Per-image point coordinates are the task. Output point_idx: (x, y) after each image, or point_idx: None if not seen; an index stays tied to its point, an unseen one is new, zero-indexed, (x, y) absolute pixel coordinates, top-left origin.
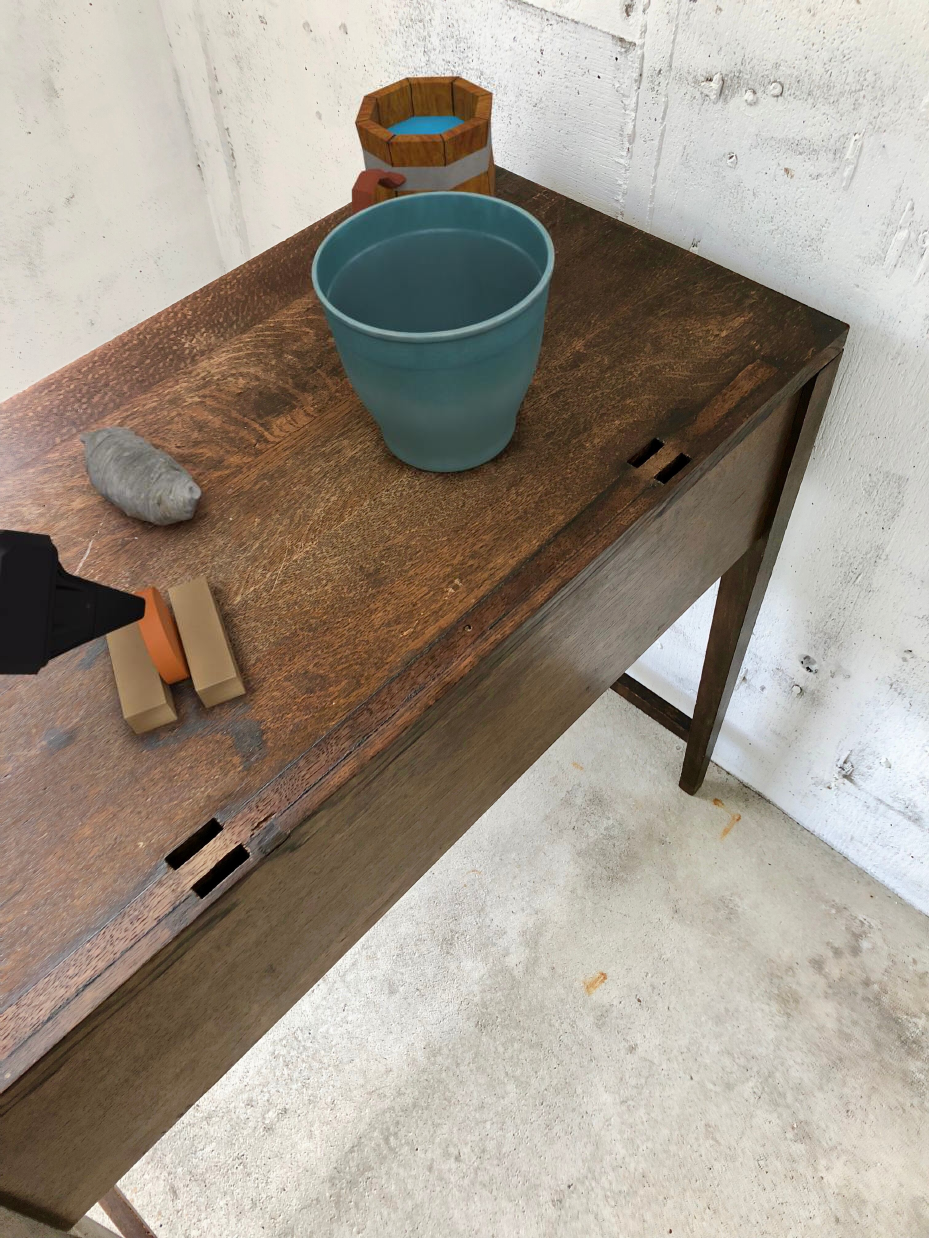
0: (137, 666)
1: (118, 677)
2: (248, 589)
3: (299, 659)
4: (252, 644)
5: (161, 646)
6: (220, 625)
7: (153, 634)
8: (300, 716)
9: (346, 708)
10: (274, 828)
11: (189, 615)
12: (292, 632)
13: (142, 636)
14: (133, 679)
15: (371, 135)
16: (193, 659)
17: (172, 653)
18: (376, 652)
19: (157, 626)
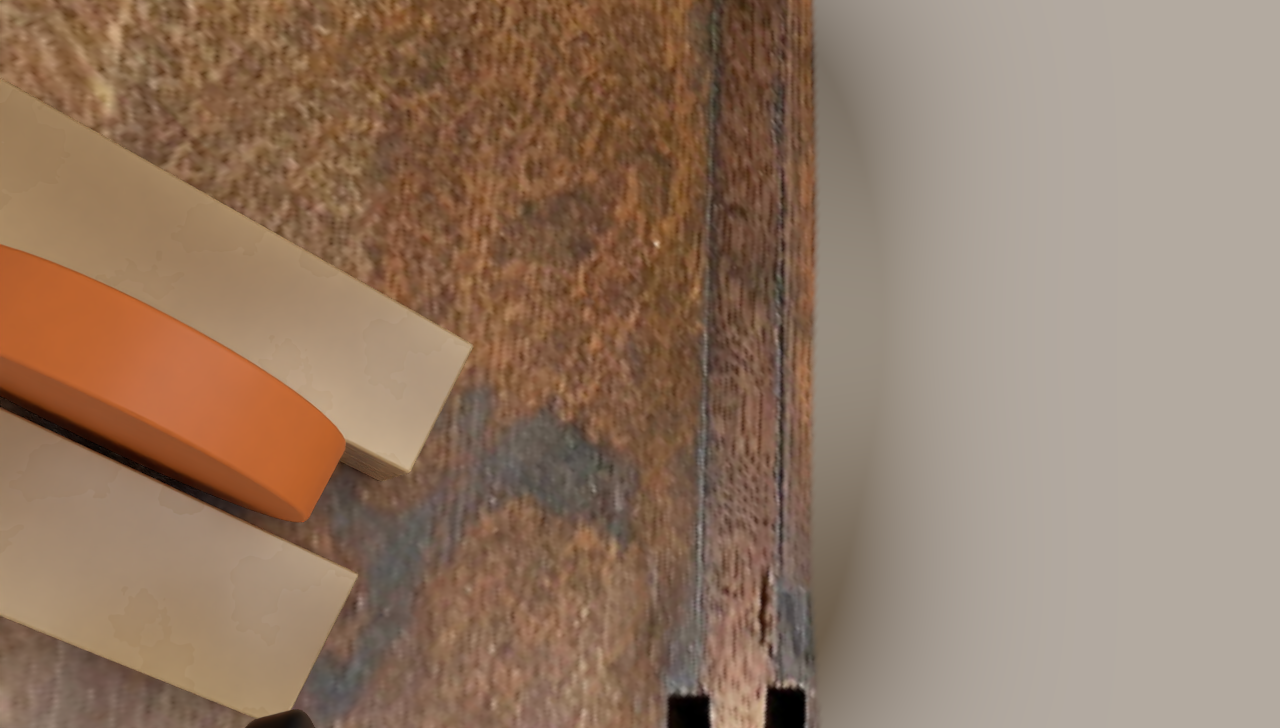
0: (124, 551)
1: (95, 638)
2: (103, 41)
3: (479, 182)
4: (311, 216)
5: (309, 445)
6: (257, 223)
7: (269, 431)
8: (619, 326)
9: (690, 237)
10: (795, 599)
11: (104, 254)
12: (386, 114)
13: (238, 469)
14: (163, 600)
15: None
16: (293, 389)
17: (338, 435)
18: (629, 55)
19: (263, 393)
